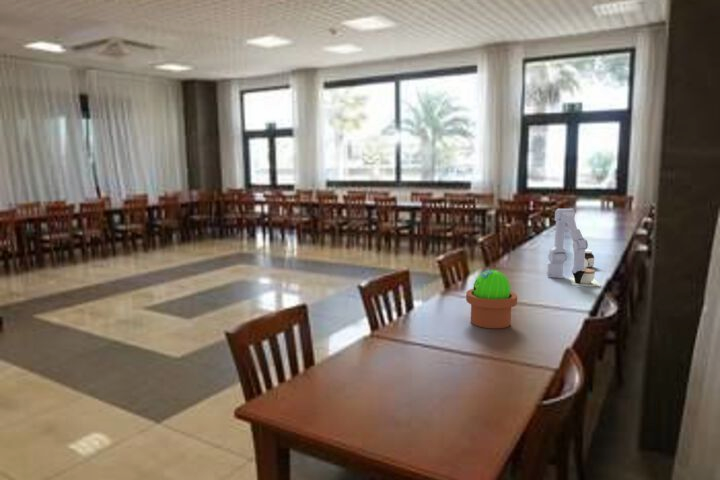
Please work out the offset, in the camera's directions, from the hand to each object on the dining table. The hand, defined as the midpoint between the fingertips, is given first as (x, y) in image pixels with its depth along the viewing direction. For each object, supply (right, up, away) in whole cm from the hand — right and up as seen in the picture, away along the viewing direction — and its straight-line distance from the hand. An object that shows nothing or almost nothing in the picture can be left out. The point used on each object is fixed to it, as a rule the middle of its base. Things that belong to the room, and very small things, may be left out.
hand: (577, 283), depth 306 cm
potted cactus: (-67, -13, -68) cm, 97 cm away
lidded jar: (+7, 0, +7) cm, 10 cm away
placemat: (+8, 0, +11) cm, 14 cm away
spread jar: (+27, +6, +53) cm, 59 cm away
